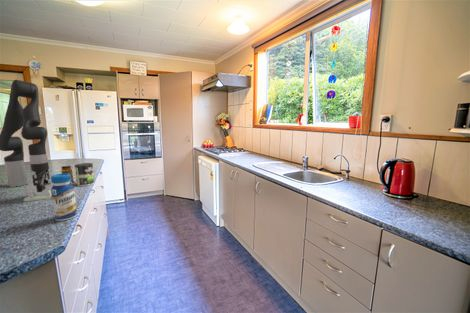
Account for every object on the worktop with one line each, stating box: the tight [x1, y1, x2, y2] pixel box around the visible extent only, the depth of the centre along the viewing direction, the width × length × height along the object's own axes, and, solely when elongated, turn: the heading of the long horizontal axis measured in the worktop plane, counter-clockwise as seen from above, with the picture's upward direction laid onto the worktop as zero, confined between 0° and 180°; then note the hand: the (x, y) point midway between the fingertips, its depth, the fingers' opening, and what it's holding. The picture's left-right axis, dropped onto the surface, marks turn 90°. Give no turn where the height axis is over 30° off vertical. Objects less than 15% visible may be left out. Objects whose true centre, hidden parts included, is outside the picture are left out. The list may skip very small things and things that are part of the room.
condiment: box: [61, 165, 74, 184], centre depth 153 cm, size 7×8×12 cm
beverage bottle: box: [50, 173, 78, 222], centre depth 96 cm, size 8×8×20 cm
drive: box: [26, 182, 54, 197], centre depth 123 cm, size 12×5×6 cm, turn 110°
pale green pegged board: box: [23, 190, 52, 203], centre depth 124 cm, size 14×11×4 cm
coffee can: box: [74, 162, 95, 187], centre depth 148 cm, size 10×10×14 cm
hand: (43, 189), depth 124 cm, fingers open, 8 cm apart
